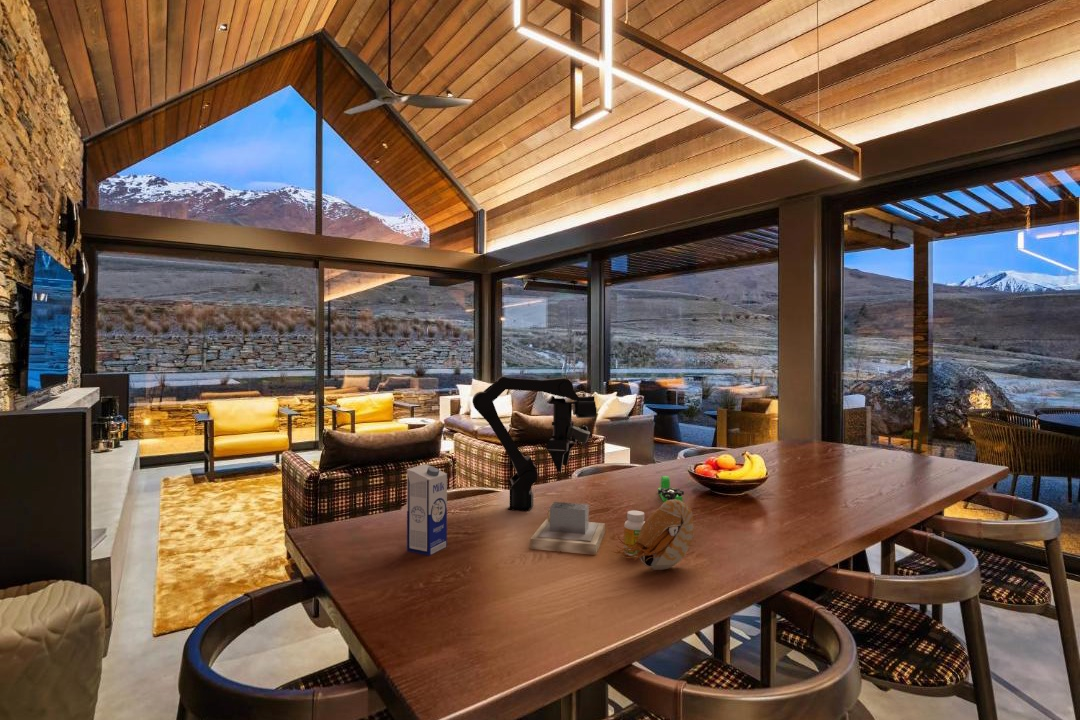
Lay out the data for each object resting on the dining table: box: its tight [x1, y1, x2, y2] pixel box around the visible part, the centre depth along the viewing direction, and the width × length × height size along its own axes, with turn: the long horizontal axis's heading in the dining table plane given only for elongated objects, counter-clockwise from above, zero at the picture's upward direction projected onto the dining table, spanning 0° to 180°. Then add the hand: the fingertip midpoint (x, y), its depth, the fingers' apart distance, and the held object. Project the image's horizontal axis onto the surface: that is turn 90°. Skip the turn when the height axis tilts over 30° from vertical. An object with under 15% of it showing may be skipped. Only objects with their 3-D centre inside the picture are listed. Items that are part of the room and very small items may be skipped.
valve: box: [657, 486, 685, 500], centre depth 141 cm, size 7×7×12 cm
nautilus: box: [611, 499, 694, 571], centre depth 118 cm, size 8×22×15 cm, turn 119°
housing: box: [547, 501, 590, 534], centre depth 138 cm, size 5×10×6 cm, turn 76°
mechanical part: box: [657, 475, 683, 503], centre depth 181 cm, size 12×6×8 cm, turn 176°
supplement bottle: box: [623, 510, 646, 557], centre depth 129 cm, size 5×5×10 cm
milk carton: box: [406, 463, 448, 556], centre depth 131 cm, size 7×7×20 cm
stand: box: [529, 518, 606, 556], centre depth 138 cm, size 16×17×3 cm
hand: (562, 468), depth 169 cm, fingers open, 9 cm apart
